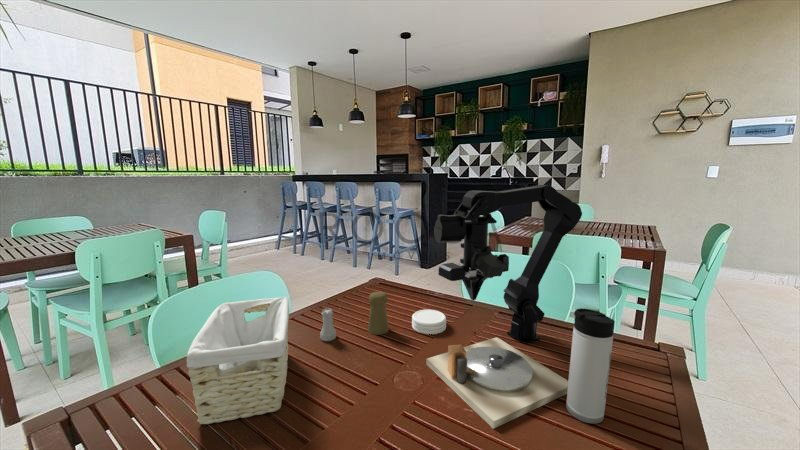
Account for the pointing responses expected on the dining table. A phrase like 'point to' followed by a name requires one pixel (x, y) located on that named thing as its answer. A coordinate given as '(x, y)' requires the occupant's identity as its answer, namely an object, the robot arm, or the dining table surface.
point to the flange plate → (492, 367)
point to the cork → (378, 314)
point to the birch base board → (494, 403)
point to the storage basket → (240, 360)
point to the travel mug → (589, 365)
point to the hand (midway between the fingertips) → (473, 299)
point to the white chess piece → (327, 326)
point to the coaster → (429, 322)
